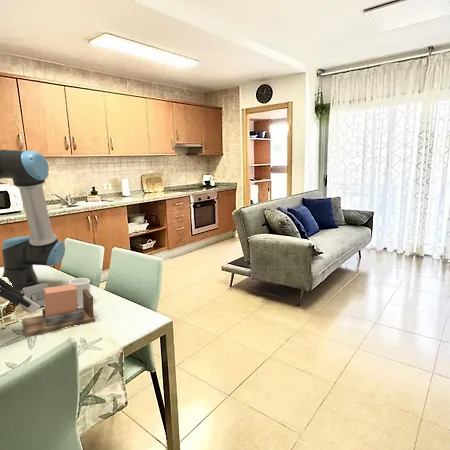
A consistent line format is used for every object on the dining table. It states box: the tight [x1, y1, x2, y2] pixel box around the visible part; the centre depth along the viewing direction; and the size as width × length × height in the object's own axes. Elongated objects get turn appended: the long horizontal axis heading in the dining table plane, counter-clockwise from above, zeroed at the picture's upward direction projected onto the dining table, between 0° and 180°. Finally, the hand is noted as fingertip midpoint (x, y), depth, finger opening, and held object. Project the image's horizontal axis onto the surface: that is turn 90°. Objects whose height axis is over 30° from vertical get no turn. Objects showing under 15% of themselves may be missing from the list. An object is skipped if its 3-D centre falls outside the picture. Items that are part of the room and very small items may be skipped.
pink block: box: [44, 284, 78, 317], centre depth 119 cm, size 10×6×11 cm, turn 126°
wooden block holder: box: [21, 289, 96, 338], centre depth 119 cm, size 22×12×10 cm, turn 126°
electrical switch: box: [21, 282, 49, 312], centre depth 132 cm, size 9×5×9 cm, turn 141°
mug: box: [68, 277, 91, 308], centre depth 139 cm, size 8×12×10 cm, turn 40°
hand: (37, 309), depth 115 cm, fingers closed
